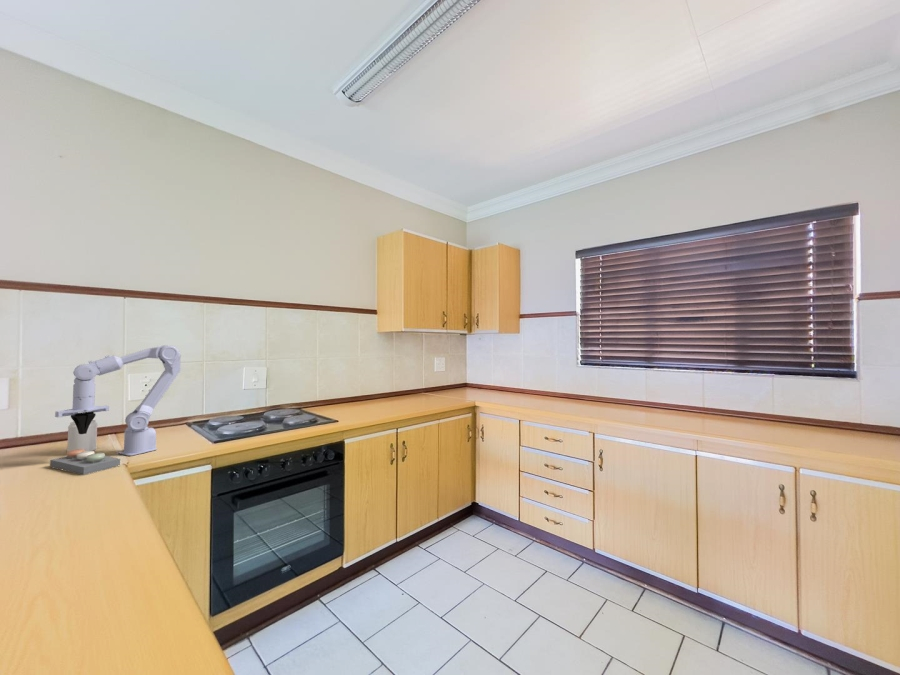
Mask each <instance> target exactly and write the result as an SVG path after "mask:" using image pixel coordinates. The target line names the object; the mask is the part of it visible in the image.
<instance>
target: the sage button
mask: <svg viewBox="0 0 900 675" xmlns="http://www.w3.org/2000/svg"><path fill="white" fill-rule="evenodd" d="M105 456H106V455H105V453H104V452H98V453H94V454H91V455H88V456H87V461H88V463H91V464H93V463H97V462H102V461H104V458H105Z"/></svg>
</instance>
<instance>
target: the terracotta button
mask: <svg viewBox="0 0 900 675" xmlns="http://www.w3.org/2000/svg"><path fill="white" fill-rule="evenodd" d="M80 452H85V449H76V450H71V451H68V452H67V451H66V456H67V457H68V458H69V459H75V458H77V453H80Z"/></svg>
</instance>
